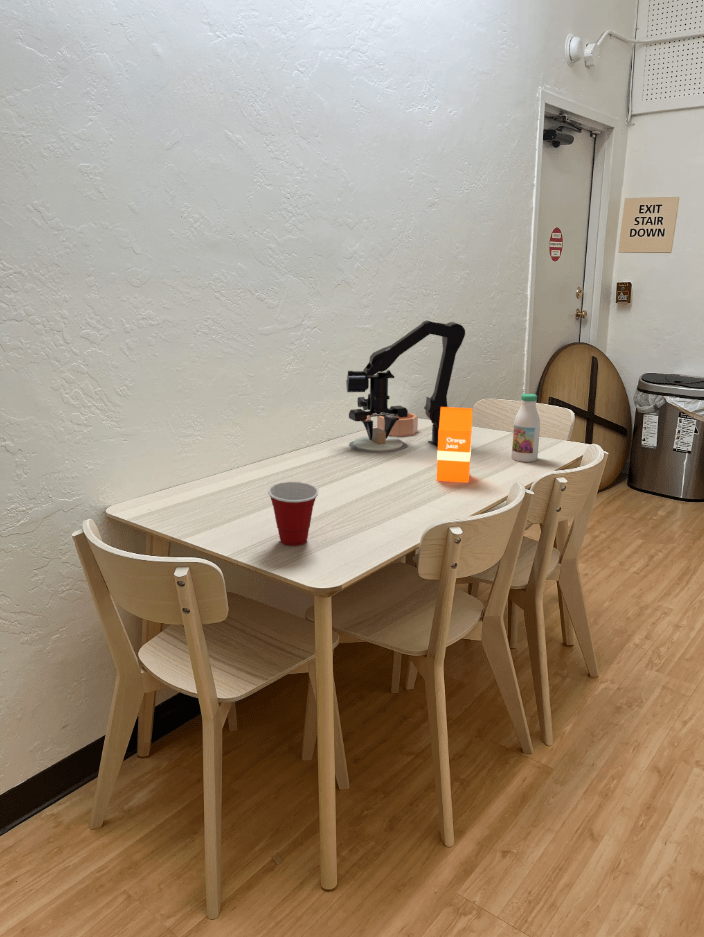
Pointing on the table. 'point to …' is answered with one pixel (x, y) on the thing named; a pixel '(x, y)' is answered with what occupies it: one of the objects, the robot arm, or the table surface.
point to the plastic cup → (293, 510)
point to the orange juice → (454, 444)
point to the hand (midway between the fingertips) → (378, 439)
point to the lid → (378, 442)
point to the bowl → (401, 425)
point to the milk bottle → (526, 430)
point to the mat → (377, 451)
